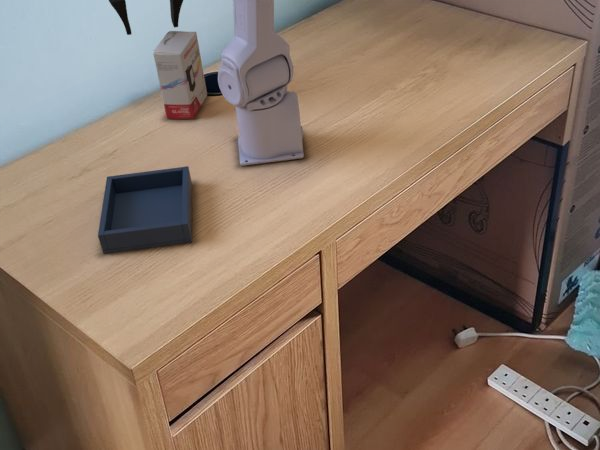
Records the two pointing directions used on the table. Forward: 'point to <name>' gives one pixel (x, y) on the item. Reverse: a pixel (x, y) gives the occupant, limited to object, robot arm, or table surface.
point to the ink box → (180, 74)
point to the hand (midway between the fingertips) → (152, 28)
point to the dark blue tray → (146, 210)
